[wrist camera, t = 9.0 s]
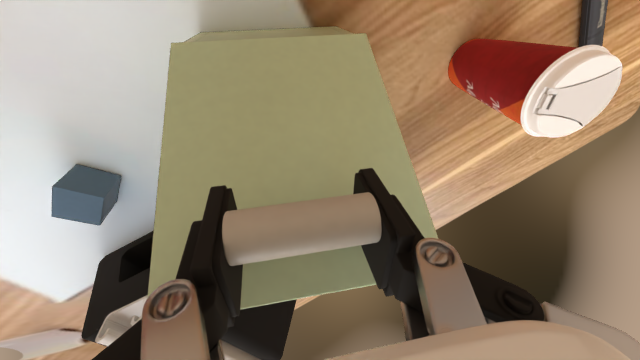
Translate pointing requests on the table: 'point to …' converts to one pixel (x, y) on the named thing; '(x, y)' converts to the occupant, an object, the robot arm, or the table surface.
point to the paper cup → (538, 82)
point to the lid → (280, 161)
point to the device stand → (132, 291)
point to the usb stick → (592, 22)
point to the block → (85, 195)
